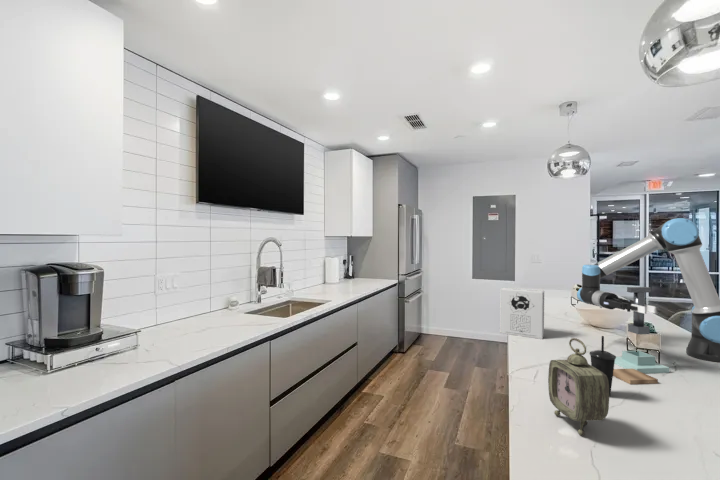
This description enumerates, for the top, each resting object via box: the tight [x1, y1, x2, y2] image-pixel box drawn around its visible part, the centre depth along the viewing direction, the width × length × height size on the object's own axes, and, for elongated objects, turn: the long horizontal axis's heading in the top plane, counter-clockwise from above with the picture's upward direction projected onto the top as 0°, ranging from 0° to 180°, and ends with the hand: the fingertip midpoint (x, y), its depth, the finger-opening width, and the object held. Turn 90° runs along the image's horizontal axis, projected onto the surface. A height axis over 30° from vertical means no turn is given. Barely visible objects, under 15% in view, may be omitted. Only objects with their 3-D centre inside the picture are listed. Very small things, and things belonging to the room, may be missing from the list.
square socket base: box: [614, 350, 670, 374], centre depth 151 cm, size 14×14×6 cm
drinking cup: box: [589, 335, 617, 397], centre depth 125 cm, size 8×8×20 cm
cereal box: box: [499, 287, 545, 340], centre depth 200 cm, size 22×8×25 cm, turn 58°
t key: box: [626, 286, 652, 335], centre depth 151 cm, size 9×5×19 cm, turn 95°
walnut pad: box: [613, 368, 659, 385], centre depth 139 cm, size 11×11×2 cm
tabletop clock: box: [547, 337, 610, 437], centre depth 104 cm, size 14×9×25 cm, turn 4°
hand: (650, 310), depth 145 cm, fingers closed on t key, 3 cm apart
